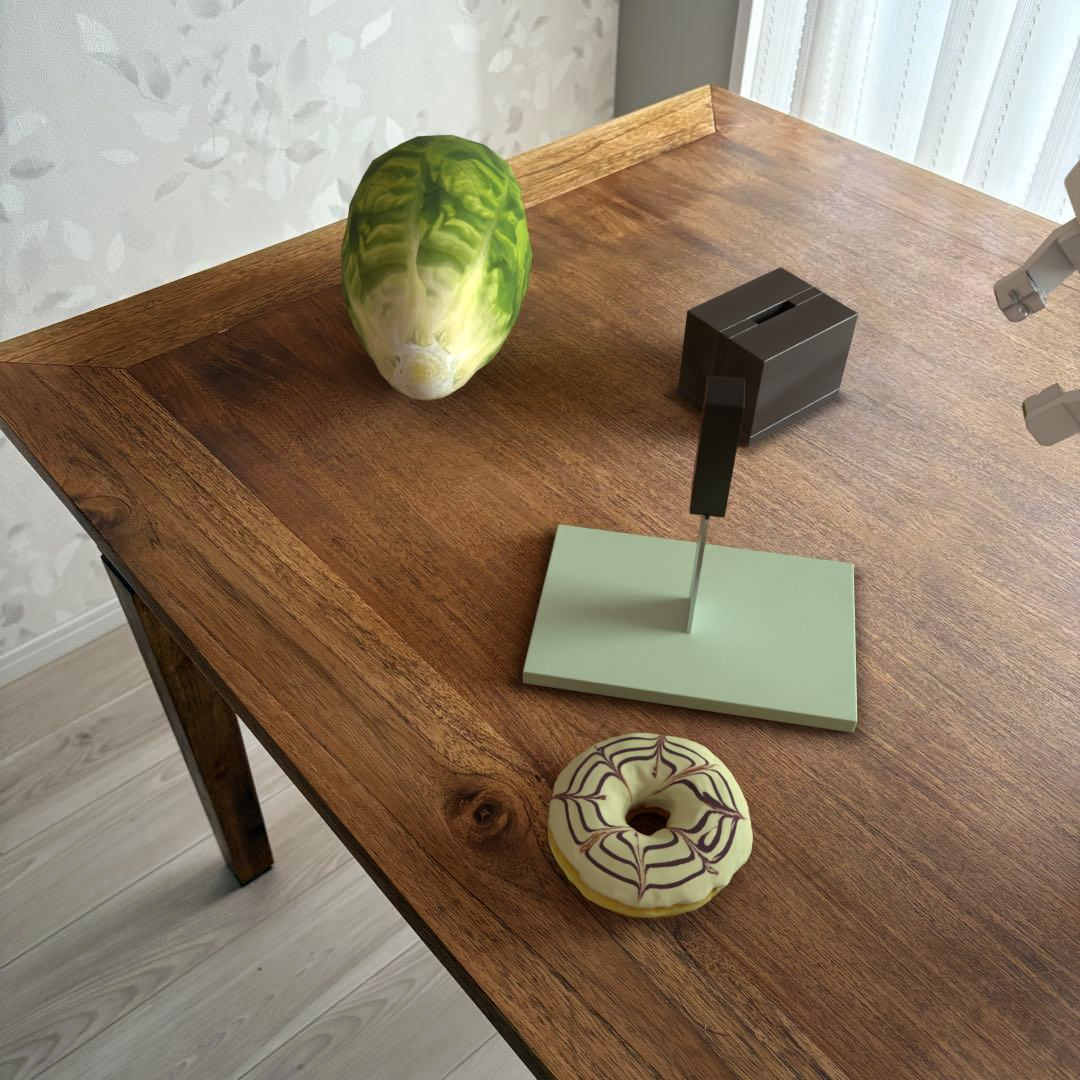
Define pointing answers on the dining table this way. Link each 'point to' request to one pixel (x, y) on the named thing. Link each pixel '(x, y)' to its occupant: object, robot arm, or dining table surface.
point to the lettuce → (435, 262)
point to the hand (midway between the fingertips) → (1014, 362)
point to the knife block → (768, 350)
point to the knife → (714, 463)
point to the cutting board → (698, 628)
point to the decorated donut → (669, 854)
